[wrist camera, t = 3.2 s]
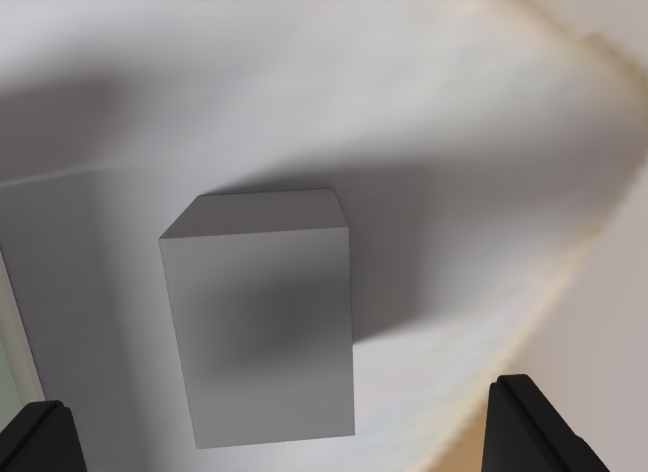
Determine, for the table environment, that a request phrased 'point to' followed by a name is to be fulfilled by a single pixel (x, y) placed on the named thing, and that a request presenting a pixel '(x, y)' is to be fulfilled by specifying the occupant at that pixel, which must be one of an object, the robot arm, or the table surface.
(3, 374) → the door
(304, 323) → the block
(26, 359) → the door frame
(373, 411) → the table surface
